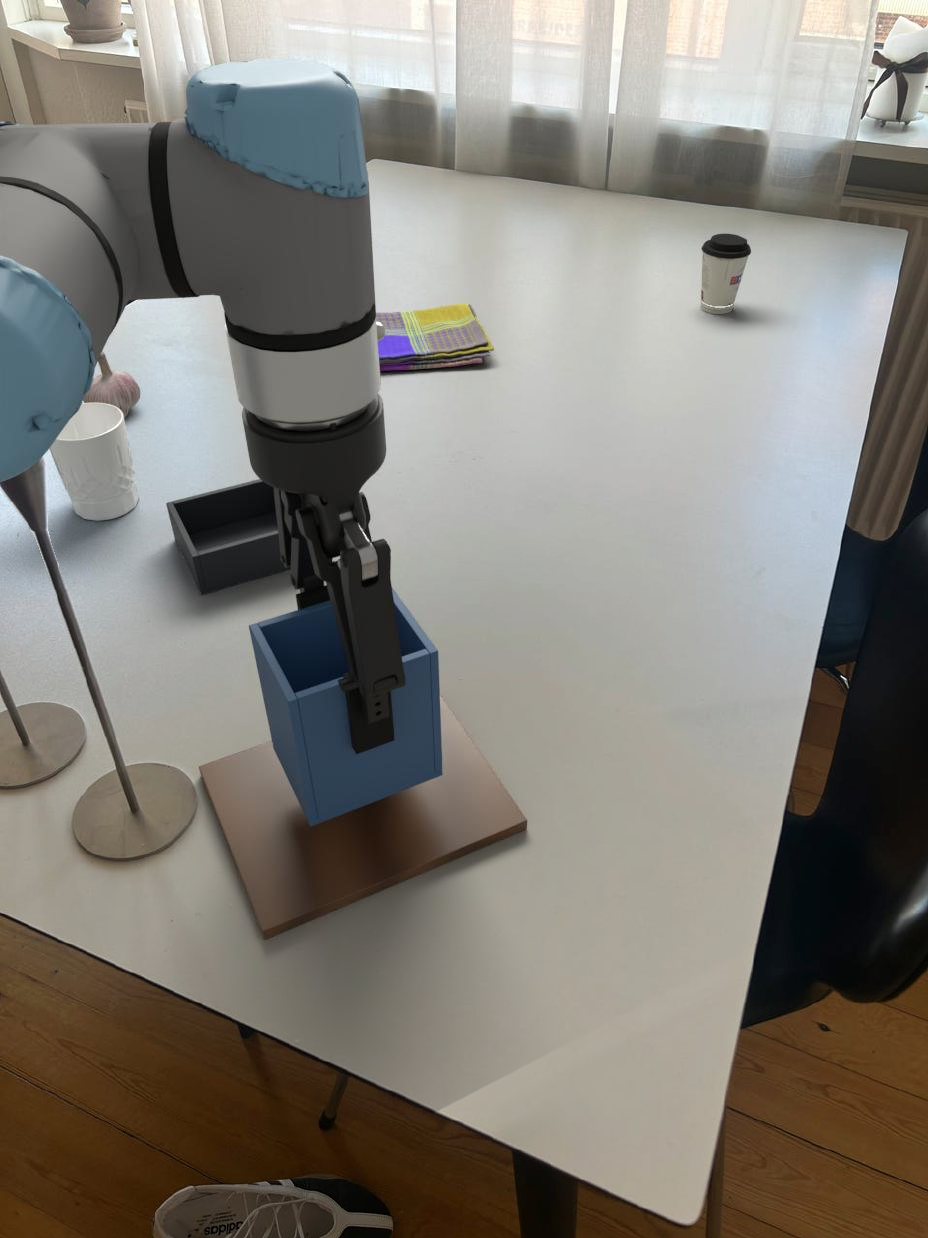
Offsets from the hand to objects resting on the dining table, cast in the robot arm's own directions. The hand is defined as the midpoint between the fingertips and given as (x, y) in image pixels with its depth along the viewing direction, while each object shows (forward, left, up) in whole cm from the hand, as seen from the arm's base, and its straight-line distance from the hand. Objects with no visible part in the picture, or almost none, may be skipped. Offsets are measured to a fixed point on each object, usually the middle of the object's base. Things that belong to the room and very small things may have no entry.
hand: (348, 701), depth 66 cm
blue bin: (0, 0, -6) cm, 6 cm away
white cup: (-9, +50, -11) cm, 52 cm away
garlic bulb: (-4, +71, -11) cm, 72 cm away
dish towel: (+35, +72, -11) cm, 81 cm away
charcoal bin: (+2, +35, -11) cm, 37 cm away
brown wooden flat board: (0, 0, -11) cm, 11 cm away
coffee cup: (+82, +62, -11) cm, 103 cm away
